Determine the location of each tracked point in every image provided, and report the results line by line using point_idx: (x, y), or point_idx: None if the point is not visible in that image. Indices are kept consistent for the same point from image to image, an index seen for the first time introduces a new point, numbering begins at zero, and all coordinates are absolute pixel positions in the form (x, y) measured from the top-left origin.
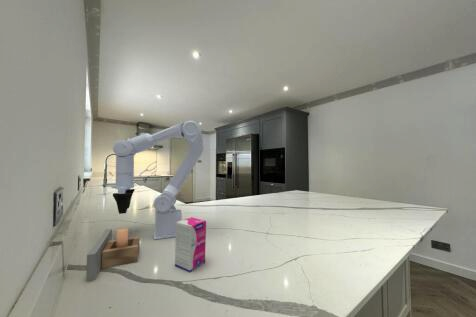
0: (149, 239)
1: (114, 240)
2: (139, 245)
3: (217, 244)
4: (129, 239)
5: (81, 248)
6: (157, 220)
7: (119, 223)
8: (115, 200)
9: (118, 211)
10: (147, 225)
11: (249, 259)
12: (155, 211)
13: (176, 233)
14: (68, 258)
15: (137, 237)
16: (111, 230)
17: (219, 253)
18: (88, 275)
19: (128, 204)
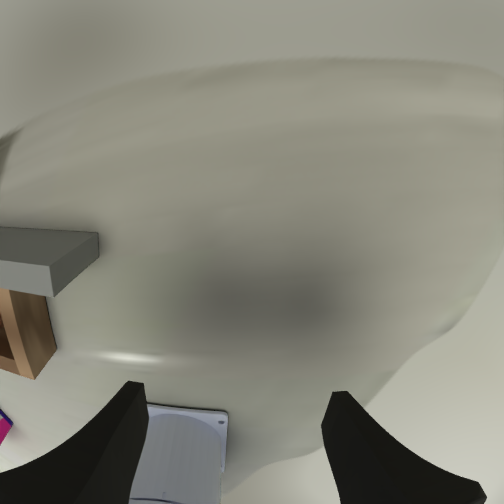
0: (147, 389)
1: (5, 296)
2: (47, 358)
3: None
4: (10, 346)
5: (155, 117)
6: (138, 469)
7: (479, 257)
8: (42, 456)
9: (121, 390)
10: (360, 385)
11: (13, 467)
12: (154, 502)
13: None
14: (64, 105)
15: (24, 371)
16: (46, 293)
17: (30, 458)
18: None
19: (331, 450)
